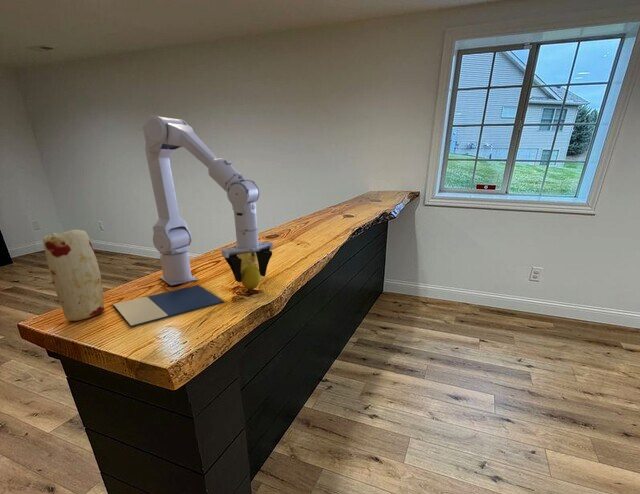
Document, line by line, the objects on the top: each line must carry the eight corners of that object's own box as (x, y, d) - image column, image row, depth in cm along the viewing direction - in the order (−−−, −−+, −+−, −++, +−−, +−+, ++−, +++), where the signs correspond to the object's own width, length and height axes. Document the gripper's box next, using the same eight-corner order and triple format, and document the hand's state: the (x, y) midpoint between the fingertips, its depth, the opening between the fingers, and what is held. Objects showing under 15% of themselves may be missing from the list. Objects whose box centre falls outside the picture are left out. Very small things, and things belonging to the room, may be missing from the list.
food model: (77, 327, 76) (49, 236, 68) (57, 321, 78) (28, 233, 71) (116, 310, 85) (96, 227, 77) (97, 306, 87) (75, 225, 79)
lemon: (257, 294, 95) (255, 266, 92) (238, 293, 96) (235, 265, 93) (264, 287, 100) (262, 260, 97) (246, 286, 101) (244, 259, 98)
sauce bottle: (256, 275, 110) (252, 211, 102) (237, 275, 110) (230, 211, 102) (260, 269, 116) (256, 208, 108) (241, 269, 116) (236, 208, 108)
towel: (113, 305, 87) (112, 303, 87) (198, 286, 101) (198, 284, 101) (131, 327, 76) (130, 325, 76) (223, 302, 90) (223, 300, 90)
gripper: (228, 235, 84) (234, 287, 89) (278, 228, 93) (280, 276, 98) (215, 231, 89) (221, 281, 94) (263, 224, 98) (266, 270, 103)
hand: (250, 278), depth 97 cm, fingers open, 7 cm apart
